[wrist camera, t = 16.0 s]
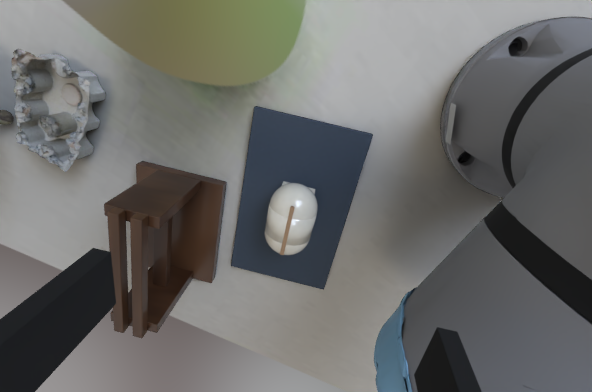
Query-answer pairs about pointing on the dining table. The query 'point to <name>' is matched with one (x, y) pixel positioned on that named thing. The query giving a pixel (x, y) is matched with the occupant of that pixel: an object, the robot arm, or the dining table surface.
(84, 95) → the egg carton
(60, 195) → the dining table surface
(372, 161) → the dining table surface
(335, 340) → the dining table surface
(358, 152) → the mat
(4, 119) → the tabletop clock
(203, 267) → the rack
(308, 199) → the white dome-topped canister
